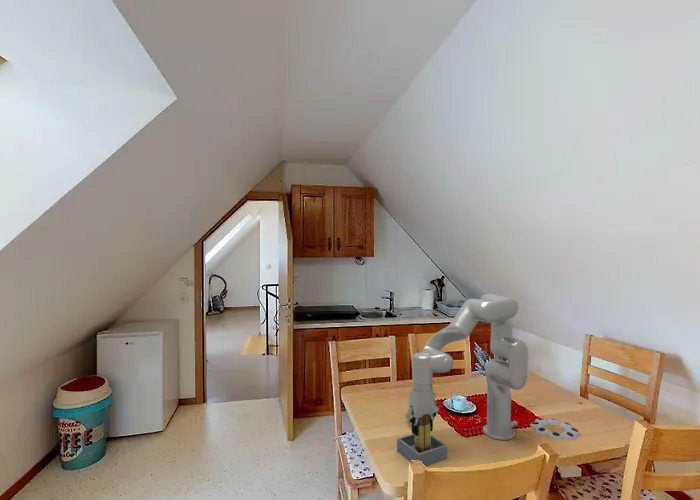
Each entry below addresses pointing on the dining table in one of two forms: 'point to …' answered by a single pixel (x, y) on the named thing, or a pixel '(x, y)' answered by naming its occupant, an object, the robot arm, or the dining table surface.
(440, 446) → the box
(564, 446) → the dining table surface
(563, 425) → the grey ring with holes
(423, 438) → the sauce bottle
